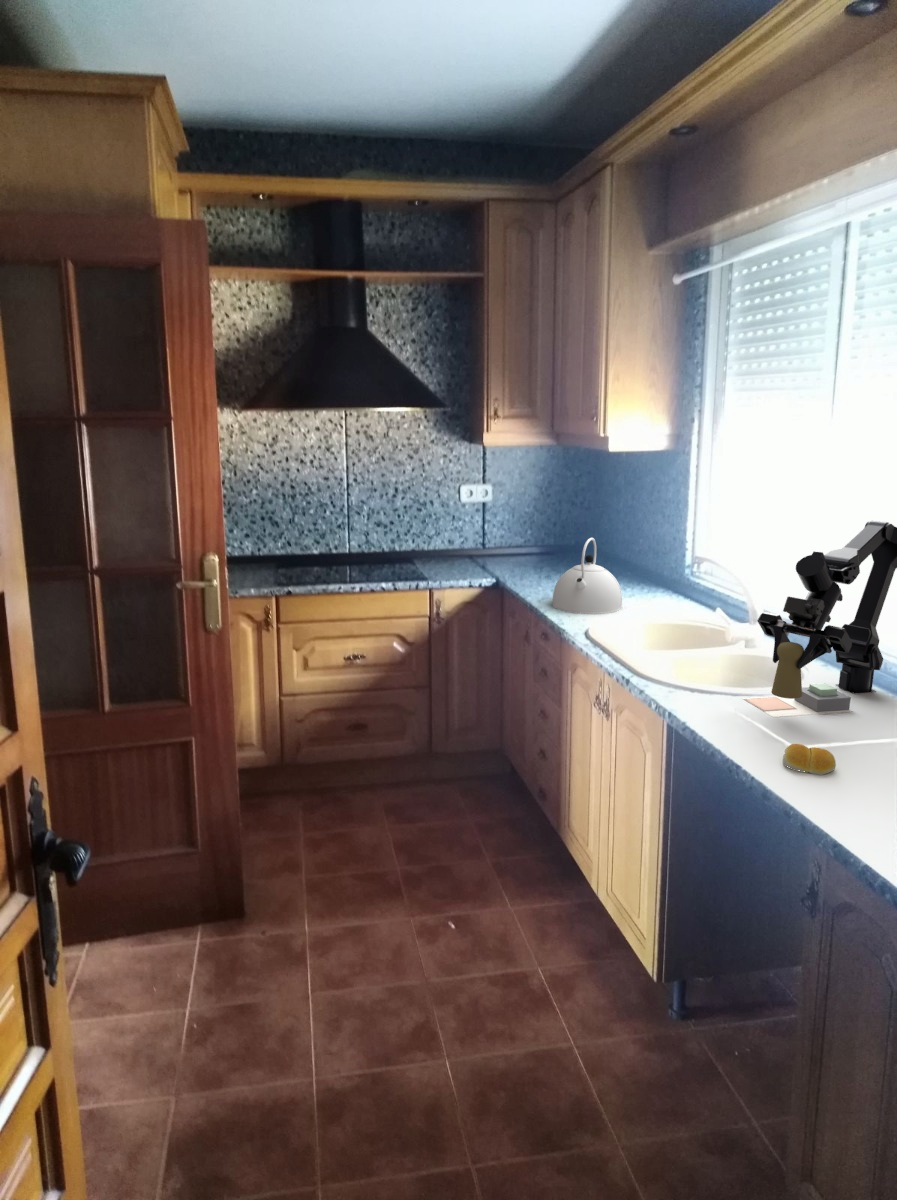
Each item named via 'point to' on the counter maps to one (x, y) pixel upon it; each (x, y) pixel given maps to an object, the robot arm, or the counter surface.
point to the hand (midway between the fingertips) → (785, 664)
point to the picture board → (802, 704)
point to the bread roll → (809, 759)
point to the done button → (822, 690)
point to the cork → (788, 671)
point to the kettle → (587, 588)
